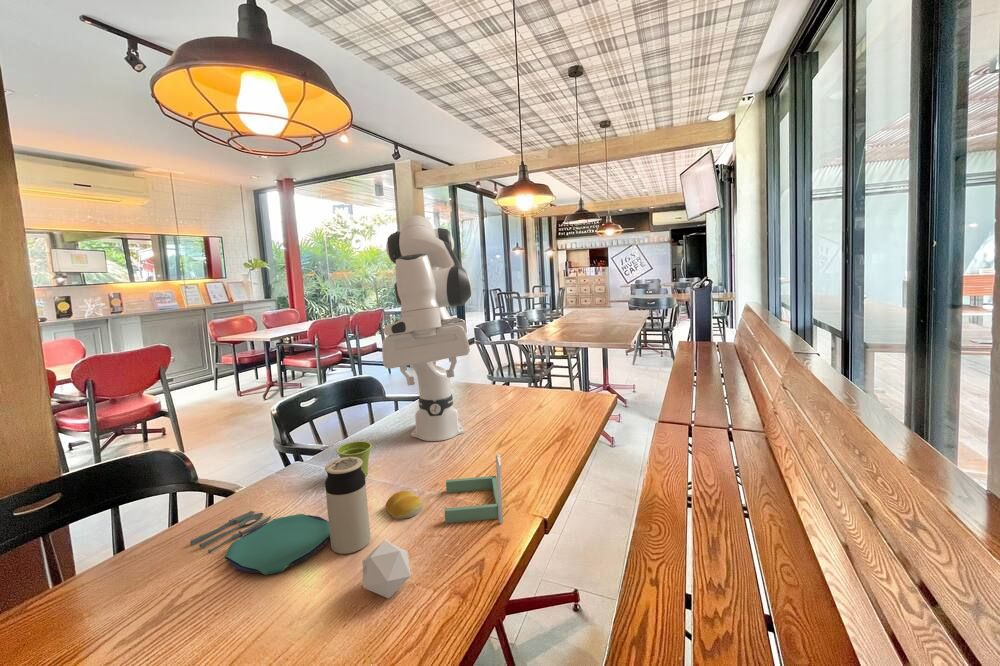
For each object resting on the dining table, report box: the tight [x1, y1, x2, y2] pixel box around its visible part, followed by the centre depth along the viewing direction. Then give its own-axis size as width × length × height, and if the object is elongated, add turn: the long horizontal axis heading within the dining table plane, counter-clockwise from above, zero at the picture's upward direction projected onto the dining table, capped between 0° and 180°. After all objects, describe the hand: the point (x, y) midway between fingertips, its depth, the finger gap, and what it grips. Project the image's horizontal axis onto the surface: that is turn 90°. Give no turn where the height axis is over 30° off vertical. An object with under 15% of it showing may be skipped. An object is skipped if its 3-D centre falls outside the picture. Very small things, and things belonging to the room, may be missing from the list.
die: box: [361, 539, 412, 600], centre depth 79 cm, size 8×9×10 cm
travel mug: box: [324, 457, 371, 555], centre depth 93 cm, size 8×8×18 cm
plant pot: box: [336, 440, 372, 478], centre depth 125 cm, size 9×9×9 cm
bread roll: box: [385, 490, 423, 520], centre depth 106 cm, size 8×9×4 cm
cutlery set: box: [190, 510, 330, 576], centre depth 96 cm, size 20×30×2 cm, turn 63°
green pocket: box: [444, 454, 504, 525], centre depth 104 cm, size 22×13×16 cm, turn 6°
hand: (431, 380), depth 103 cm, fingers open, 8 cm apart
